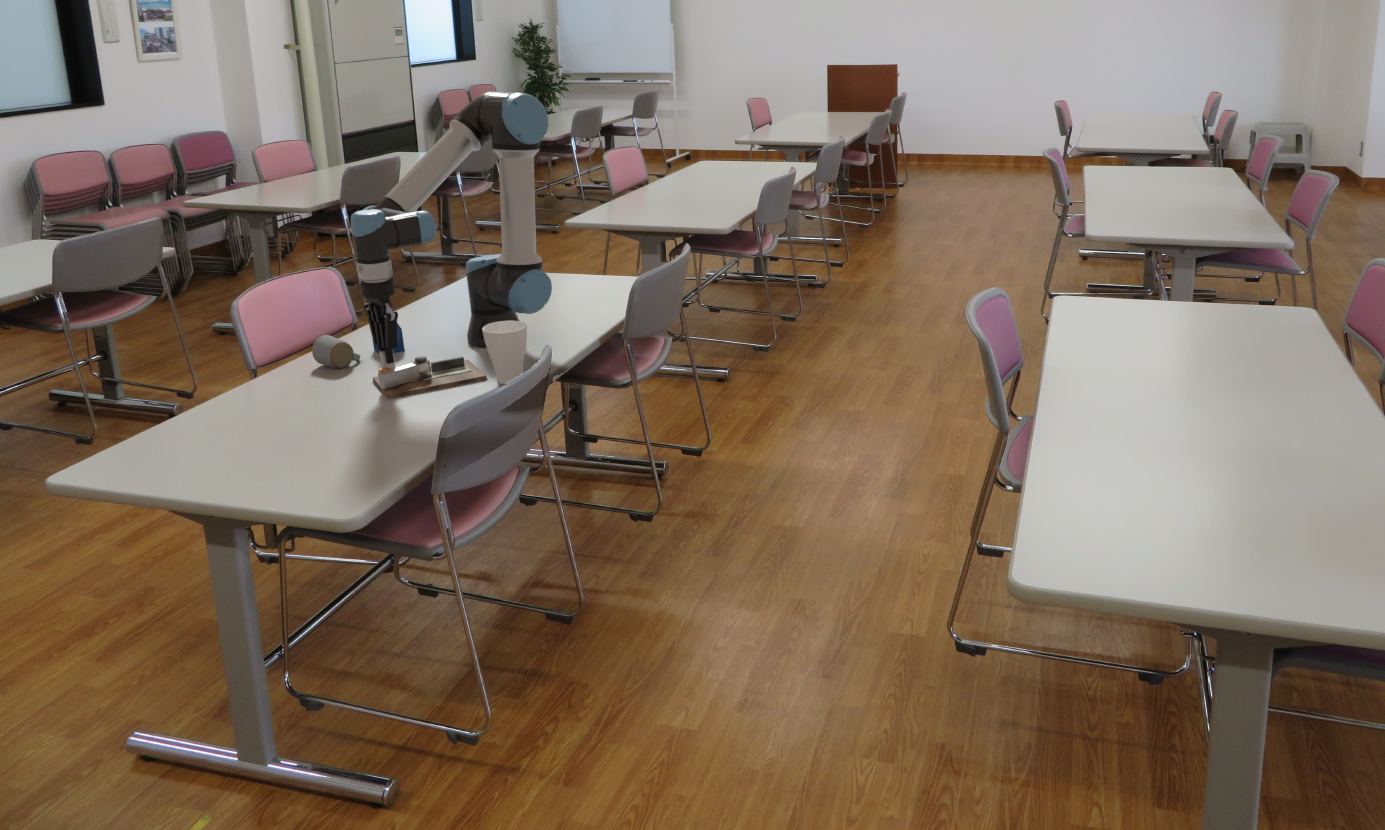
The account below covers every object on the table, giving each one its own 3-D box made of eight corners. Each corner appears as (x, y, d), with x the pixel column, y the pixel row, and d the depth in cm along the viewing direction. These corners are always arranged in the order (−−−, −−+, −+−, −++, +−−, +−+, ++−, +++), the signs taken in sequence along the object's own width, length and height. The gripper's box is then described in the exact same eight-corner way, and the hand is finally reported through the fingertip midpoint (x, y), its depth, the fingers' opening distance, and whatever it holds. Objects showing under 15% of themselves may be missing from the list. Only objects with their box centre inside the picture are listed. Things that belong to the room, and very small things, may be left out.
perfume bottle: (404, 351, 282) (398, 307, 277) (382, 355, 279) (375, 311, 274) (396, 345, 287) (390, 302, 282) (374, 350, 283) (367, 306, 279)
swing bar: (425, 371, 260) (423, 355, 258) (434, 375, 257) (432, 358, 256) (378, 385, 251) (375, 368, 250) (387, 389, 249) (384, 372, 247)
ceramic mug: (333, 372, 267) (329, 343, 264) (313, 367, 271) (309, 338, 269) (368, 362, 275) (364, 333, 272) (348, 357, 279) (344, 328, 277)
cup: (504, 371, 263) (499, 318, 258) (540, 376, 258) (535, 322, 253) (479, 384, 254) (473, 330, 249) (515, 390, 250) (509, 335, 245)
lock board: (468, 363, 270) (465, 341, 268) (486, 379, 257) (484, 356, 255) (373, 381, 259) (369, 358, 257) (387, 398, 247) (384, 375, 245)
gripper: (348, 276, 246) (362, 372, 255) (373, 286, 237) (387, 385, 246) (378, 271, 251) (391, 365, 260) (404, 280, 242) (416, 377, 251)
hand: (389, 375), depth 253 cm, fingers closed
